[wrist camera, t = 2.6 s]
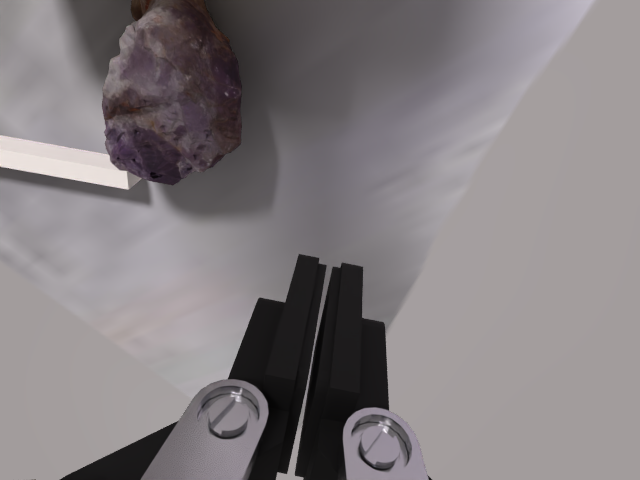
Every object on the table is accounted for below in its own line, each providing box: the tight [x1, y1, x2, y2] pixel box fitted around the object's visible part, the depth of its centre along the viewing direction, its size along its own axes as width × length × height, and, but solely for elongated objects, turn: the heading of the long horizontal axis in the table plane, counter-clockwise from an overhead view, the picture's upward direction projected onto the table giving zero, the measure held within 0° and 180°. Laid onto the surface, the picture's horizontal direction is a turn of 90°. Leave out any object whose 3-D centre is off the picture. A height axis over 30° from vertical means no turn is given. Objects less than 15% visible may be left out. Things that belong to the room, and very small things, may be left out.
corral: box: [0, 135, 142, 190], centre depth 29 cm, size 17×18×2 cm
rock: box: [102, 0, 242, 185], centre depth 27 cm, size 12×9×10 cm
